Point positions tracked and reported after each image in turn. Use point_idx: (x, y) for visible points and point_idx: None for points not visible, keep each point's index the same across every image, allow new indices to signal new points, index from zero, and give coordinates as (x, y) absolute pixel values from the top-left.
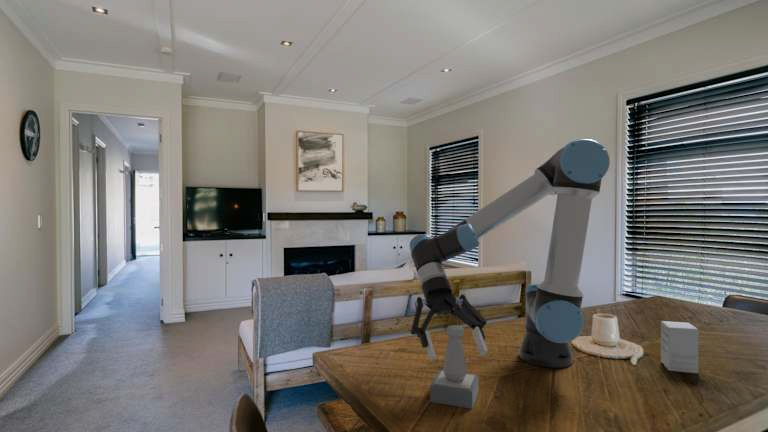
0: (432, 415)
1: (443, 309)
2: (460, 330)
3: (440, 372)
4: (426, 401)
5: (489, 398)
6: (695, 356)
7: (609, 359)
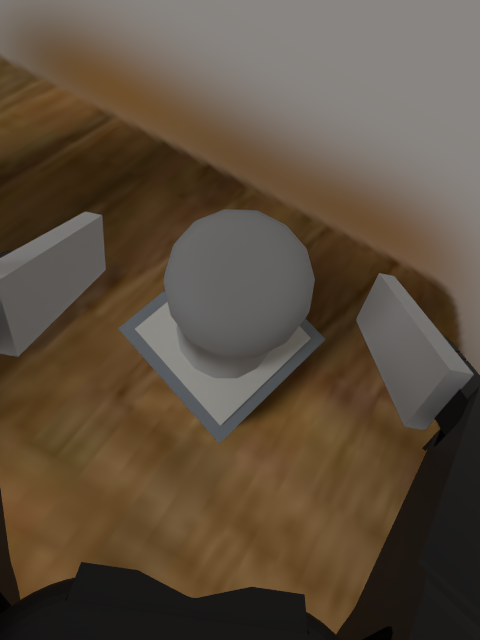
0: (339, 279)
1: (229, 619)
2: (235, 210)
3: (232, 418)
4: (315, 352)
5: (139, 283)
6: None
7: None
